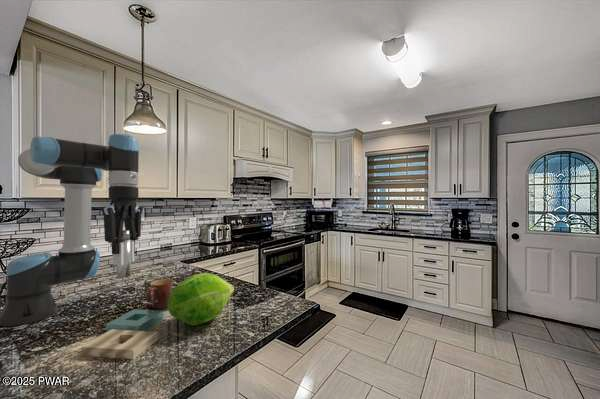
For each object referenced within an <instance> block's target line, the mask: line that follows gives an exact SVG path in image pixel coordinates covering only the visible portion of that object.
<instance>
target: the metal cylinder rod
mask: <svg viewBox="0 0 600 399" xmlns="http://www.w3.org/2000/svg"><path fill="white" fill-rule="evenodd" d="M120 243H123V265H116V279H126V278H129V277H131V276H132V262H131V239H130V230H125V229H123V231H122V238H121V242H120Z"/></svg>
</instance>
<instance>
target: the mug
mask: <svg viewBox="0 0 600 399" xmlns="http://www.w3.org/2000/svg"><path fill="white" fill-rule="evenodd" d="M174 281H175V280H174V279H172V278H162V279H157V280H153V281H152V282H150V283H149V286H150V288H148V290H147V291H146V297H147V298H146V299H147V302H149V303H151V306H152V309H153V310H163V309H166V308H167V305H168V298H169V296H170V295H171V293H172V292H173V285H174ZM167 309H168V308H167Z"/></svg>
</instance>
